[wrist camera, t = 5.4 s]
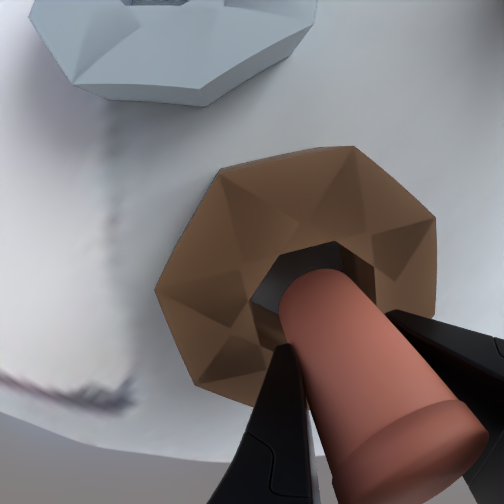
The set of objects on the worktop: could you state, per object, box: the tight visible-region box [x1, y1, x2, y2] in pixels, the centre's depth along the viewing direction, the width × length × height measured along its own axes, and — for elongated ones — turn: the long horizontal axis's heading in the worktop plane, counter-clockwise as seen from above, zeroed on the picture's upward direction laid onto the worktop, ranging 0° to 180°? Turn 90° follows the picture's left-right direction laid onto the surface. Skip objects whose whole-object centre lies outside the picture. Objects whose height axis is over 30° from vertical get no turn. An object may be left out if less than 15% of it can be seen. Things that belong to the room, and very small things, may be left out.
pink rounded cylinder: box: [279, 269, 489, 504], centre depth 7 cm, size 3×3×7 cm
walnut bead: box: [155, 146, 437, 410], centre depth 12 cm, size 10×10×4 cm
